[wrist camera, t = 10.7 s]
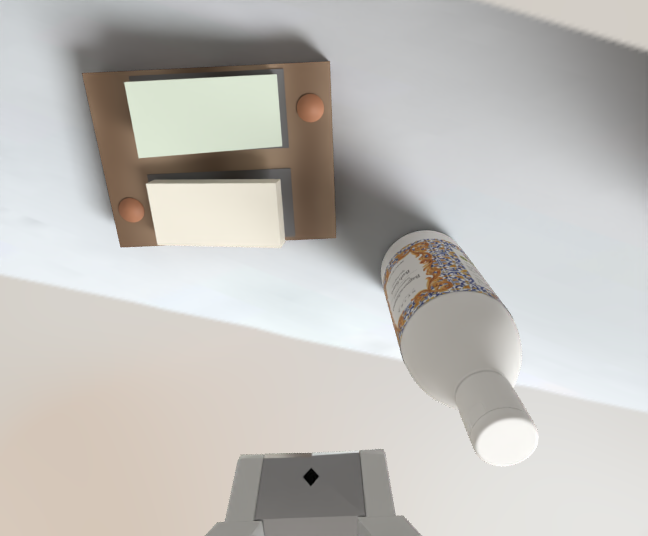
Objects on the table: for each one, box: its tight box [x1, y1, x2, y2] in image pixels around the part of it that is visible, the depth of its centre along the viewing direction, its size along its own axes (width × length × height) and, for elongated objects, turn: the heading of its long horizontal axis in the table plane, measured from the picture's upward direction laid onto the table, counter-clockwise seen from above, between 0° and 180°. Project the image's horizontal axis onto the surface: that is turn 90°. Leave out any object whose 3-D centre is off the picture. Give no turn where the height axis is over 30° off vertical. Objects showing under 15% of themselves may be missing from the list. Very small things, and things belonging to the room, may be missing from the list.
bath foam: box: [381, 230, 539, 466], centre depth 31 cm, size 7×7×20 cm
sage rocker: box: [124, 74, 282, 158], centre depth 31 cm, size 9×4×1 cm, turn 93°
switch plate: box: [82, 61, 336, 247], centre depth 34 cm, size 16×12×4 cm
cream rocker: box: [146, 179, 285, 248], centre depth 33 cm, size 9×4×1 cm, turn 93°
